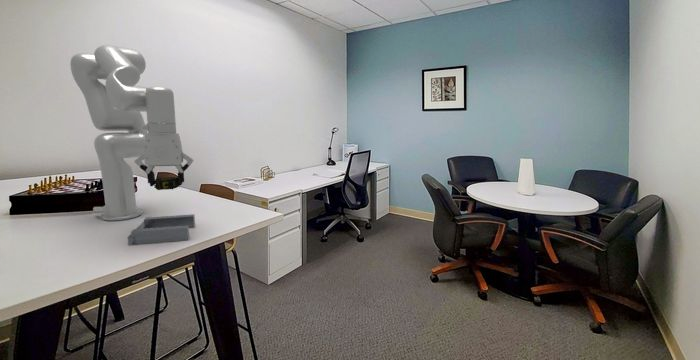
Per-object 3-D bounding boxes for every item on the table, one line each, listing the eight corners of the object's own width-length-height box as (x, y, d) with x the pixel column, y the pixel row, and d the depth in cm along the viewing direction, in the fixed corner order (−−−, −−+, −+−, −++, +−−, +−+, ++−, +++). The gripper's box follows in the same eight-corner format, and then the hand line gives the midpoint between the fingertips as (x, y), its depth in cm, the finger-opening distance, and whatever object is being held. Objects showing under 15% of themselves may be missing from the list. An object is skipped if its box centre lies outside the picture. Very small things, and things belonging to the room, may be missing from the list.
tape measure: (155, 188, 104) (154, 176, 104) (179, 186, 108) (178, 175, 107) (154, 192, 98) (153, 180, 98) (180, 190, 102) (179, 179, 101)
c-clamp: (128, 245, 96) (127, 232, 95) (146, 226, 113) (145, 215, 112) (188, 240, 100) (187, 227, 100) (196, 222, 117) (195, 212, 117)
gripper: (125, 128, 93) (131, 188, 97) (191, 130, 99) (194, 186, 102) (133, 127, 100) (139, 183, 104) (195, 129, 106) (198, 181, 109)
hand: (166, 184), depth 103 cm, fingers closed on tape measure, 7 cm apart
